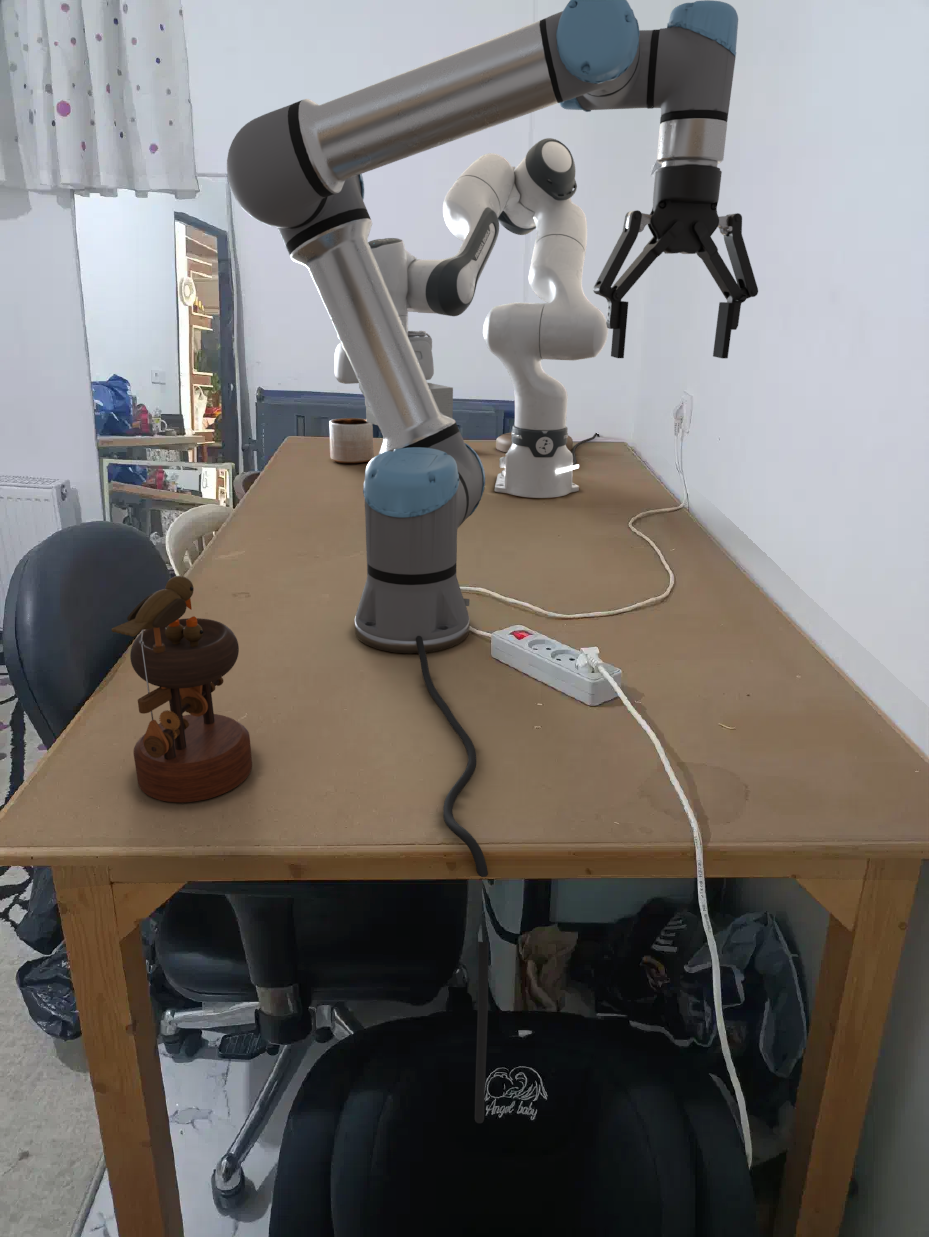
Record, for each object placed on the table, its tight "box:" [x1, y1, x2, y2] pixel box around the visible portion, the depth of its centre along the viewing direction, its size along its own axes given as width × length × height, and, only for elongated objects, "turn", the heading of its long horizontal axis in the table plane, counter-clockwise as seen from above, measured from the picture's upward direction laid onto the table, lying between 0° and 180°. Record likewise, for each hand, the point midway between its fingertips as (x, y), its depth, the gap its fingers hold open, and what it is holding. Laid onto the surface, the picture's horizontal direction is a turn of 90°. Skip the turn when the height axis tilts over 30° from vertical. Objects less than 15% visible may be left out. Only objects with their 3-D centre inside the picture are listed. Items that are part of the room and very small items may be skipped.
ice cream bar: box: [495, 431, 574, 453], centre depth 224 cm, size 21×28×4 cm
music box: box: [111, 575, 253, 803], centre depth 78 cm, size 15×11×20 cm
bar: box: [365, 382, 454, 426], centre depth 159 cm, size 23×6×9 cm, turn 33°
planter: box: [328, 417, 375, 464], centre depth 212 cm, size 11×11×10 cm
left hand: (669, 357), depth 106 cm, fingers open, 13 cm apart
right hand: (386, 405), depth 166 cm, fingers closed on bar, 5 cm apart
